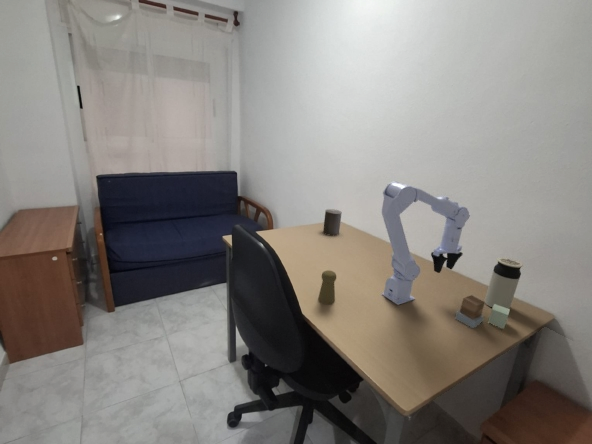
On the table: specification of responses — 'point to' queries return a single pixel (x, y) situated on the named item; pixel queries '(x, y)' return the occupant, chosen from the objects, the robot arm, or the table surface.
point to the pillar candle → (332, 221)
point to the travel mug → (503, 283)
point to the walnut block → (472, 307)
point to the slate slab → (468, 319)
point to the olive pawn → (327, 287)
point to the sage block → (499, 316)
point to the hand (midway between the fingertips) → (443, 270)
